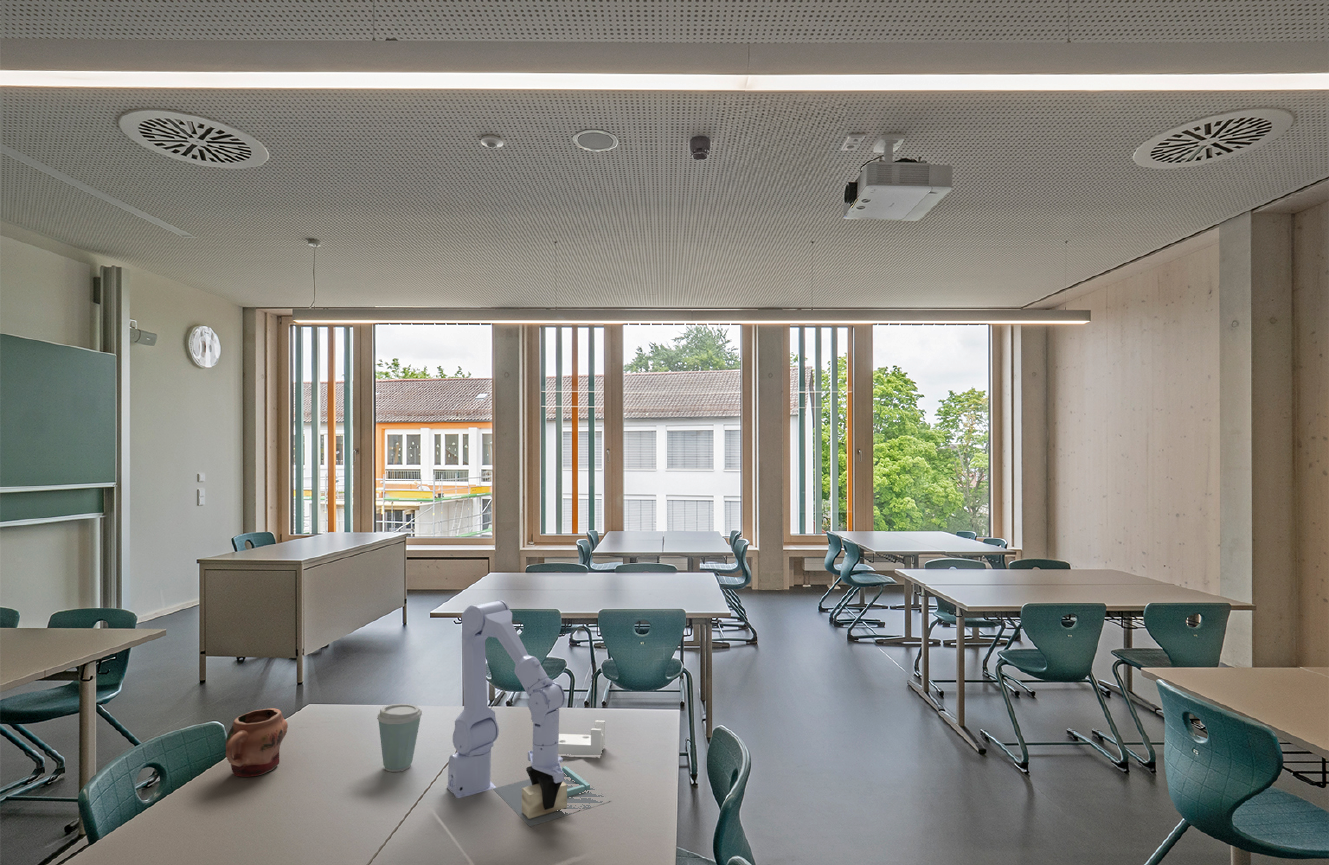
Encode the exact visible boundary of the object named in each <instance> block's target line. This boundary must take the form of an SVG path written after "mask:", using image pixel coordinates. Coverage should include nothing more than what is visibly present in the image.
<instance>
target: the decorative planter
mask: <svg viewBox="0 0 1329 865" xmlns="http://www.w3.org/2000/svg"><path fill="white" fill-rule="evenodd" d="M288 726H289V724H288V722H287V720H286V719H285V718H284V716H283V714H282V711H281V710H280V708H279V709H278V708H274V707H270V708H263V709H257V710H252V711H249V712H247V713H244V714H241V715H240V716H237V717H236V718H235V719H234V720H233V722H232V725H231V727H230V729H229V732H228V733H227V735H226V738H225V757H226V760H227V761H228V763H229V764H230V767H231V771H232V773H233V775H234V776H237V777H242V778H243V777H256V776H261V775H264V774H266V773H268V772H270V771H272V770H274V769H275V768H277V766H278V765H280V748H281V744H282V742H283V740H284V738H285V736H286V734H287V732H288V728H289V727H288Z"/></svg>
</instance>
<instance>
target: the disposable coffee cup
mask: <svg viewBox="0 0 1329 865" xmlns="http://www.w3.org/2000/svg"><path fill="white" fill-rule="evenodd" d="M422 712H423V711H422V710H421V709H420V707H418V705H415V704H411V703H394V704H388V705H384V706H382V708H380V710H379V713H378V714H377V720H378V727H379V728H378V730H379V736H380V745H381V746H380V747H381V755H382V757H381V758H382V765H383V767H384V769H385V771H387V772H391V773H397V772H399V773H400V772H404V771H406V770H408V769H409V768H410V767H411V765H412V763H413V760H414V759H413V758H414V754H415V748H416V745H417V744H416V742H417V738H418V733H419V728H420V722H421V717H422V715H423V714H422Z"/></svg>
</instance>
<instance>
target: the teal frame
mask: <svg viewBox="0 0 1329 865" xmlns="http://www.w3.org/2000/svg"><path fill="white" fill-rule="evenodd" d="M561 769H562V771H563V772H564V773H565V774H566V775H567V776H568V777H570V778H571V779H572V780H574V781H575V782H576V783H577V784H579V785H580V786H576V787H573V788H569V789H567V796H571V795H574V794H578V793H581V792H584V791H585V790H586V791H587V790H590V785H591V784H590V783H589V782H588V781H587V780H585V779H583V777H581V776H580V775H579V774H577V773H576V772H575V771H573V770H572V769H570V768H569V767H568V766H566V765H564V766H561Z"/></svg>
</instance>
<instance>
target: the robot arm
mask: <svg viewBox="0 0 1329 865" xmlns="http://www.w3.org/2000/svg"><path fill="white" fill-rule="evenodd" d="M490 637H491V638H494V639H495V638H496V639H497V641H498V642H499V643H500V644H501V645H502V647H503V649H504V650H505V651H506V653H507V654H508V655H509V657H510V658H511V659H512V661H513V662H514V664H515V665H514V674H515V675H516V677H517V679H518V681H519V682H520V684H521V686H522V687H523V689H524V690H525V692H526V694H527V696H528V697H529V699H527V701H526V702H527V706H528V709H529V711H530V715H531V716H530V717H531V718H530V719H531V722H532V750H528V751H527V761H529V762H530V766H528V767H526V768H525V769H526V770H525V771H526V773H527V775H528V776H529V779H530V780H531V783H532V785H535V784H540V786H541V790H542V798H543V806H544V809H545V810H547V809H550V808H554V805H555V801H556V797H557V793H558V790H559V788H560V786H561V784H562V782H563V781H564V772H563V771H562V769H561V768H562V766H561V763H563V761H564V757H560V756H558V747H559V734H560V708H562V707H563V705H564V704H565V700H566V694H565V691H564V688H563V687H562V685H561V684H560V683H559V682H556V681H554V680H553V679H552V678H550V677H549V675H548V674H547V672H546V671H545V670H544V668H543V666H542V664H541V661H540V660H539V659H538V658H537V657H536V656H533V655H530V654H528V650H527V649H526V647H525V645H524V643H523V642H522V640H521V638H520V636H519V634H518V632H517V630H516V628H515V626H514V624H513V612H512V611H511V609H510V607H509V606H508V603H506V602H505V600H502V599H497V600H494V601H490V602H485V603H480V604H476V605H475V604H473V605H469V606H468V607H467V608H466V609H465V610H464V611H463V612H462V613H461V656H462V658H461V659H462V686H463V688H462V689H463V691H462V692H463V710H462V711H461V712H460V714H459V715H458V716H457V717H456V718H455V720H454V730H453V734H452V744H453V747H454V748H455V750H456V751H457V752H455V753H452V754H450V756H449V758H448V765H447V766H448V767H447V768H448V770H447V773H448V774H447V785H446V788H447V789H448V790H449V791H450V792H451V793H452V794H453V795H454V796H455V797H456V798H457V799H461V798H464V797H468V796H472V795H475V794H476V795H477V794H478V793H483V792H486V791H490V790H491V791H492V790H494V788H497V786H496V785H495V784H494V783H493V782H492V781H491V771H492V770H491V768H492V766H491V765H492V764H491V763H492V761H491V760H492V748H494V742H495V741H497V739H498V738H499V735H500V734H499V733H500V731H499V730H500V729H499V725H498V722H497V718H496V712H495V710H493V709H492V708H491V707H489V706H488V684H487V663H486V662H487V659H486V658H487V657H486V640H487V639H488V638H490Z"/></svg>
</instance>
